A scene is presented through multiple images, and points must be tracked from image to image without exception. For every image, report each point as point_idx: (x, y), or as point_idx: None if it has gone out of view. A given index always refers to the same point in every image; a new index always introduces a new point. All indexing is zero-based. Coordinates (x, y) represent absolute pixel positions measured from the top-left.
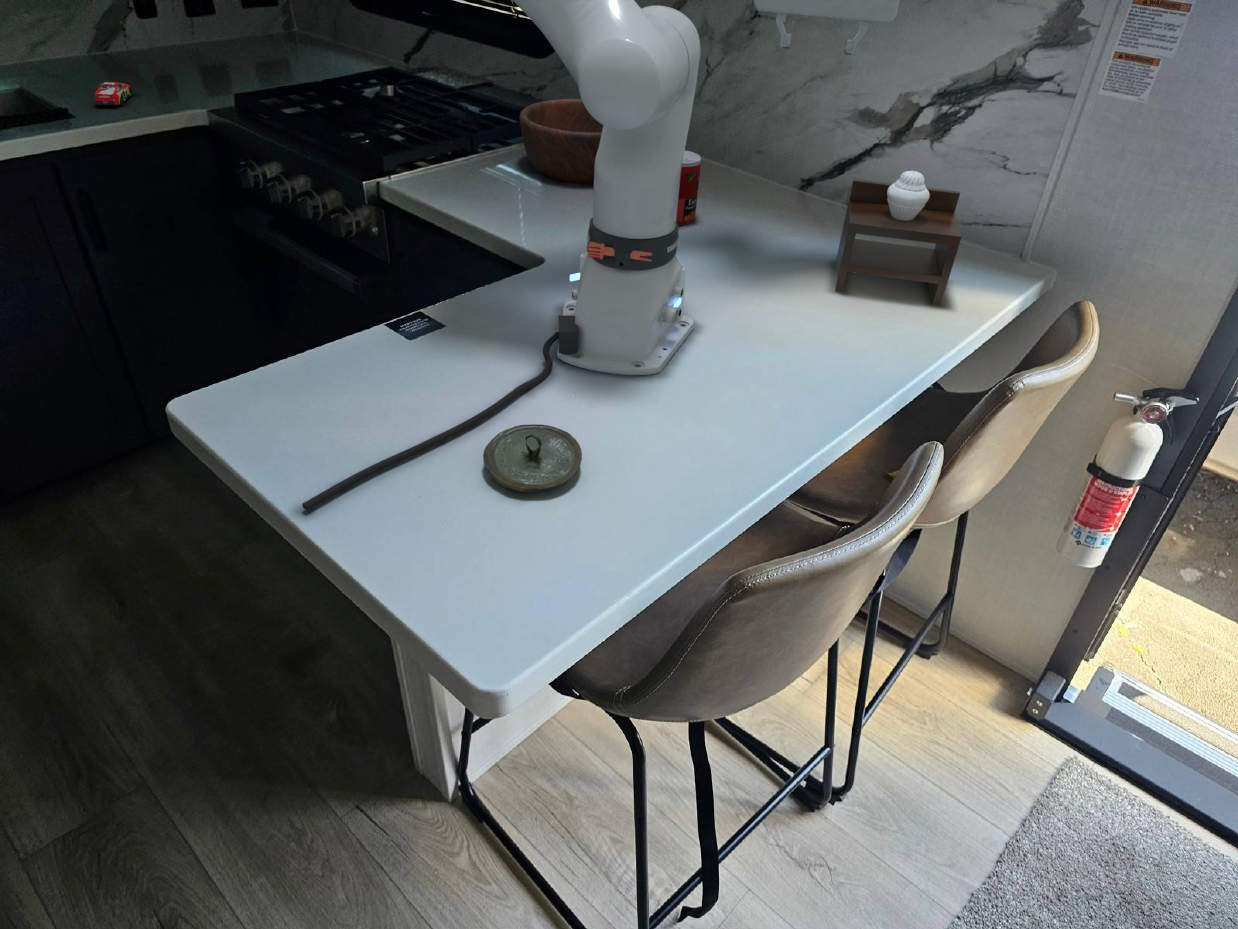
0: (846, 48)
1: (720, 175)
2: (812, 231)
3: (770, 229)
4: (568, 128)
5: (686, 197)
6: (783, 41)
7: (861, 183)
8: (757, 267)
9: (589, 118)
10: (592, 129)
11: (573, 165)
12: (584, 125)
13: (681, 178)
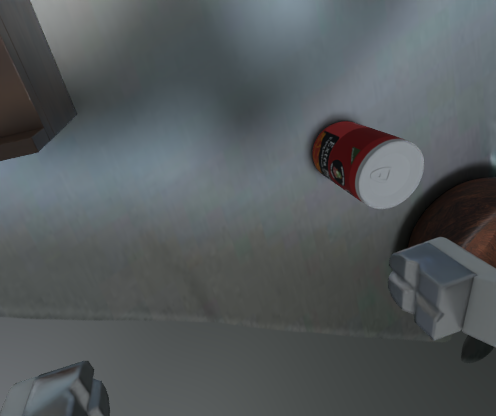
0: (70, 384)
1: (312, 306)
2: (155, 213)
3: (210, 186)
4: None
5: (340, 140)
6: (449, 253)
7: (11, 141)
8: (182, 29)
9: None
10: None
11: (481, 182)
12: None
13: (366, 139)
